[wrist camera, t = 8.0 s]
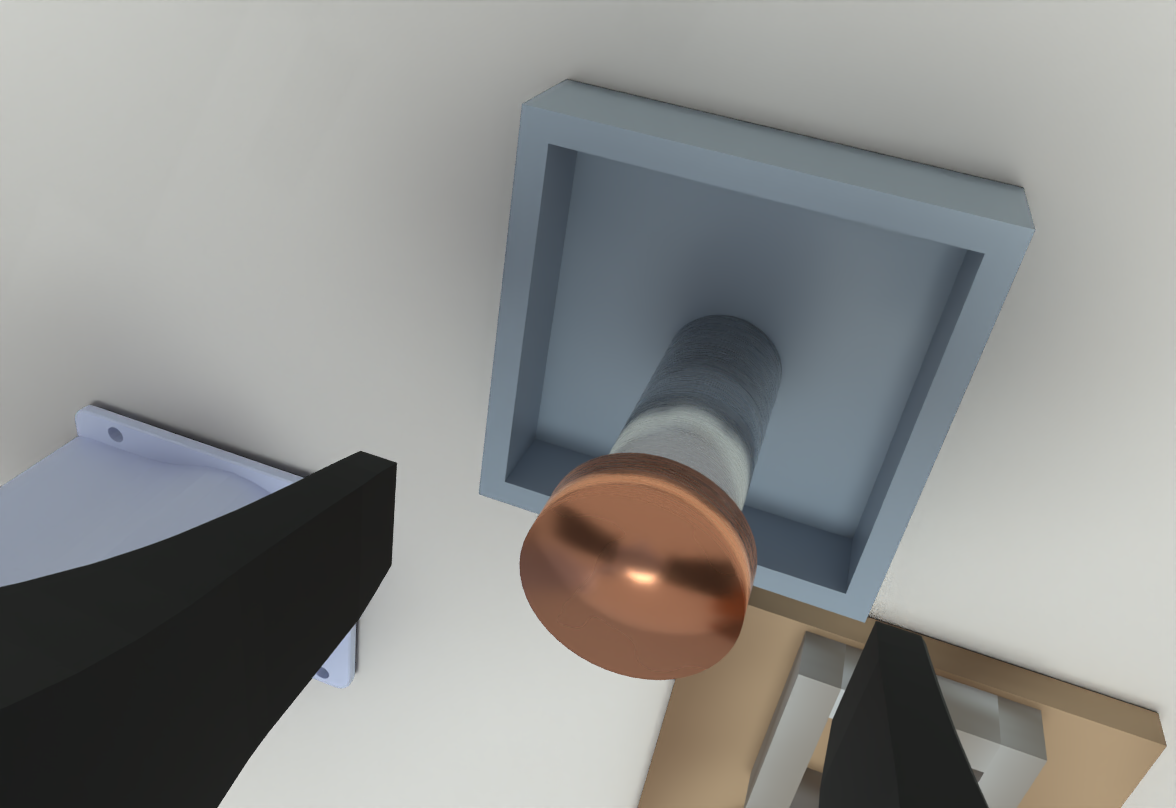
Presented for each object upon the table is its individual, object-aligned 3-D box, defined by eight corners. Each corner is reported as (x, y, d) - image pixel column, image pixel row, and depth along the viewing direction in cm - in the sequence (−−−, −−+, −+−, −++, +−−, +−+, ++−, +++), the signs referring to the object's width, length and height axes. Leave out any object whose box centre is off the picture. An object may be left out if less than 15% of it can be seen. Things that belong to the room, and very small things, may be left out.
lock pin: (637, 419, 22) (517, 643, 16) (652, 279, 20) (522, 471, 14) (789, 453, 21) (726, 704, 15) (820, 310, 19) (762, 530, 13)
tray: (517, 441, 24) (478, 493, 22) (566, 79, 19) (522, 103, 17) (871, 554, 22) (864, 622, 20) (1023, 187, 18) (1034, 229, 15)
